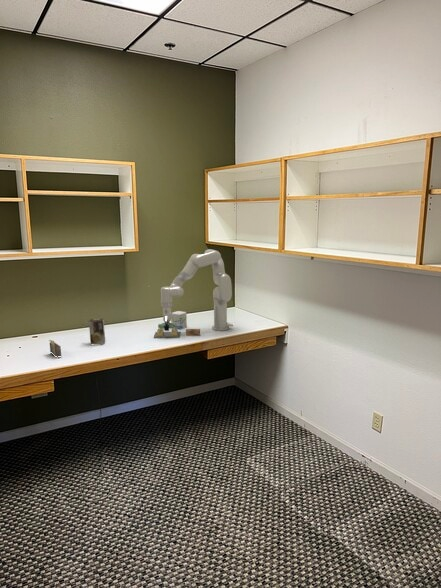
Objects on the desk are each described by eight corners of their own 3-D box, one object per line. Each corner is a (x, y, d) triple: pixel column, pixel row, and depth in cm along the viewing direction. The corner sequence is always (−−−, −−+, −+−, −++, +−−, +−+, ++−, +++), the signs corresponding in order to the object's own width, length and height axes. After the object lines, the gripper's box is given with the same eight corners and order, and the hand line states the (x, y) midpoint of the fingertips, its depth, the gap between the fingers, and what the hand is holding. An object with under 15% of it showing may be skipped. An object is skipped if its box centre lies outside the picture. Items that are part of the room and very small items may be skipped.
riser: (200, 334, 302) (200, 328, 301) (200, 335, 298) (200, 330, 297) (186, 334, 302) (186, 328, 301) (185, 336, 298) (185, 330, 297)
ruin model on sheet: (49, 354, 263) (48, 339, 261) (54, 353, 265) (53, 338, 263) (56, 359, 254) (55, 344, 252) (61, 358, 256) (60, 343, 254)
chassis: (180, 332, 305) (180, 324, 304) (179, 337, 294) (179, 328, 292) (155, 333, 305) (155, 324, 303) (153, 338, 293) (153, 329, 292)
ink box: (179, 329, 313) (179, 314, 311) (171, 327, 318) (170, 312, 316) (187, 327, 320) (186, 312, 317) (178, 325, 325) (178, 310, 322)
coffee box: (105, 341, 287) (104, 318, 283) (104, 344, 280) (103, 320, 277) (91, 342, 285) (89, 319, 282) (90, 345, 279) (88, 321, 275)
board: (175, 325, 301) (175, 323, 301) (175, 328, 295) (175, 325, 294) (158, 325, 301) (158, 323, 301) (157, 328, 294) (157, 325, 294)
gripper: (171, 307, 286) (171, 332, 290) (172, 301, 303) (173, 325, 307) (159, 307, 286) (160, 332, 289) (162, 301, 303) (162, 325, 306)
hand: (167, 328), depth 298 cm, fingers closed on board, 7 cm apart
